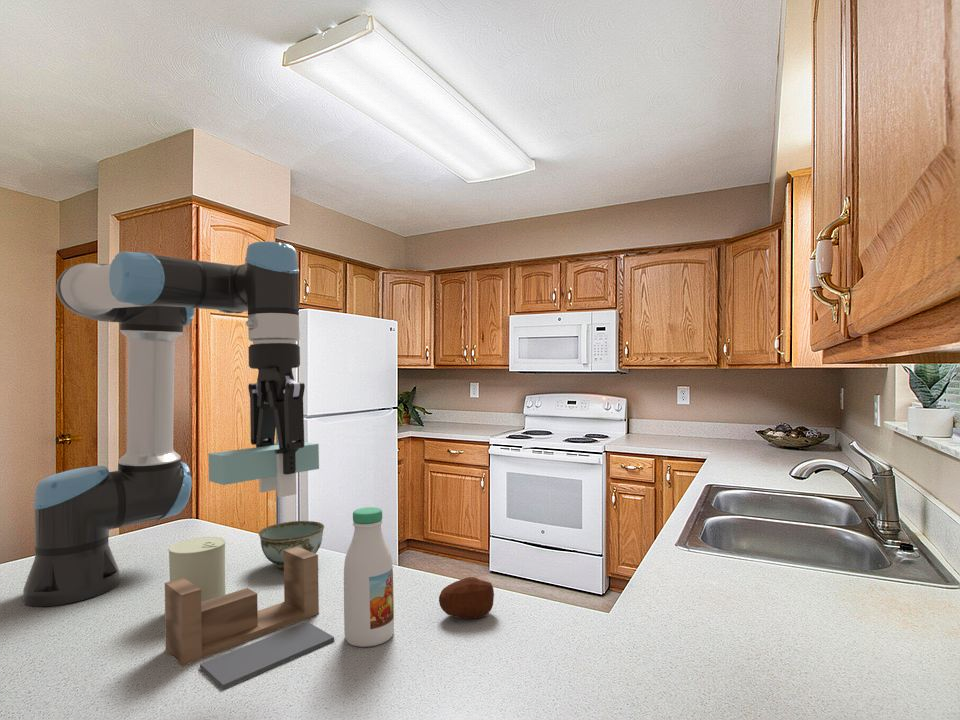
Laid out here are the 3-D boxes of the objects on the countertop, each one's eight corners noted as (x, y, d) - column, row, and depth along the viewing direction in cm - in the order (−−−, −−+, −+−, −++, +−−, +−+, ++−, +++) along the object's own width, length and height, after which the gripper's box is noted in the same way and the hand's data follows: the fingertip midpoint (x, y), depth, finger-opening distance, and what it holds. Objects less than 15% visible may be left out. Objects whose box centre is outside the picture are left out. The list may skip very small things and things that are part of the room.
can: (203, 622, 93) (202, 551, 93) (156, 618, 95) (155, 549, 95) (237, 599, 102) (236, 535, 102) (194, 596, 104) (193, 533, 104)
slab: (208, 480, 80) (208, 453, 80) (302, 465, 91) (302, 441, 91) (223, 485, 76) (222, 456, 77) (319, 468, 88) (318, 443, 88)
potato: (493, 626, 90) (492, 587, 90) (436, 626, 90) (436, 587, 90) (494, 607, 97) (493, 571, 97) (442, 607, 97) (441, 571, 97)
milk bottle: (351, 653, 82) (349, 519, 82) (339, 631, 89) (337, 507, 89) (400, 640, 85) (398, 512, 86) (385, 620, 92) (383, 501, 92)
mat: (199, 667, 79) (199, 663, 79) (307, 625, 91) (307, 621, 91) (223, 689, 73) (223, 684, 73) (334, 640, 86) (334, 637, 86)
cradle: (165, 649, 84) (164, 582, 84) (298, 602, 100) (297, 546, 100) (182, 666, 79) (181, 595, 79) (318, 613, 95) (317, 554, 96)
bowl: (313, 577, 112) (312, 538, 112) (248, 578, 112) (247, 539, 113) (332, 554, 126) (331, 519, 126) (273, 555, 126) (273, 520, 126)
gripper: (225, 345, 89) (228, 490, 88) (280, 338, 77) (283, 506, 76) (269, 346, 94) (272, 482, 94) (327, 340, 82) (331, 496, 82)
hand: (277, 492), depth 85 cm, fingers closed on slab, 5 cm apart
